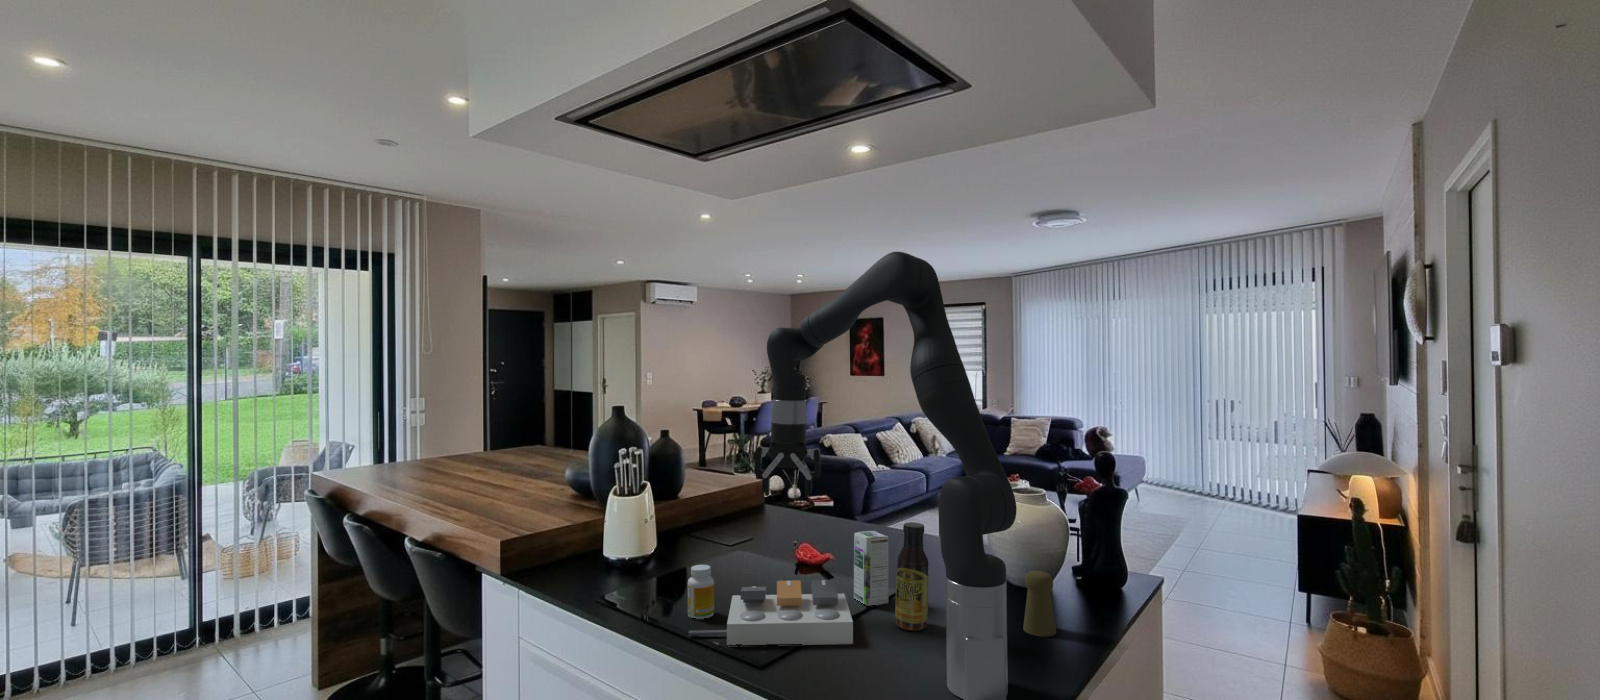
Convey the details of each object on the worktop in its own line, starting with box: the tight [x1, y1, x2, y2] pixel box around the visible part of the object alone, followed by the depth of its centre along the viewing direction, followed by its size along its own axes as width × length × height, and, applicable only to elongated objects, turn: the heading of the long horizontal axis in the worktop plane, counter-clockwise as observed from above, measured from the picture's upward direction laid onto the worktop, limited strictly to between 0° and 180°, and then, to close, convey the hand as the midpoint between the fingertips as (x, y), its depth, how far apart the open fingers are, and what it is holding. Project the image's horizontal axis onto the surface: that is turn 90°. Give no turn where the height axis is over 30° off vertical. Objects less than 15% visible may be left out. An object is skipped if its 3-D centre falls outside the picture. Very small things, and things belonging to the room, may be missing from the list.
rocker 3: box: [810, 579, 838, 605], centre depth 129 cm, size 6×5×3 cm
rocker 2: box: [776, 579, 803, 606], centre depth 128 cm, size 6×5×3 cm
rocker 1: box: [740, 585, 767, 603], centre depth 128 cm, size 6×5×3 cm
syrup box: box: [853, 530, 889, 606], centre depth 141 cm, size 6×6×14 cm
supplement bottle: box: [687, 564, 715, 620], centre depth 133 cm, size 5×5×10 cm
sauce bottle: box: [894, 521, 930, 632], centre depth 127 cm, size 6×6×20 cm
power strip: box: [688, 593, 854, 646], centre depth 126 cm, size 15×30×4 cm, turn 92°
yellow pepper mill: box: [1022, 570, 1057, 638], centre depth 125 cm, size 6×6×11 cm
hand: (786, 495), depth 140 cm, fingers open, 8 cm apart
